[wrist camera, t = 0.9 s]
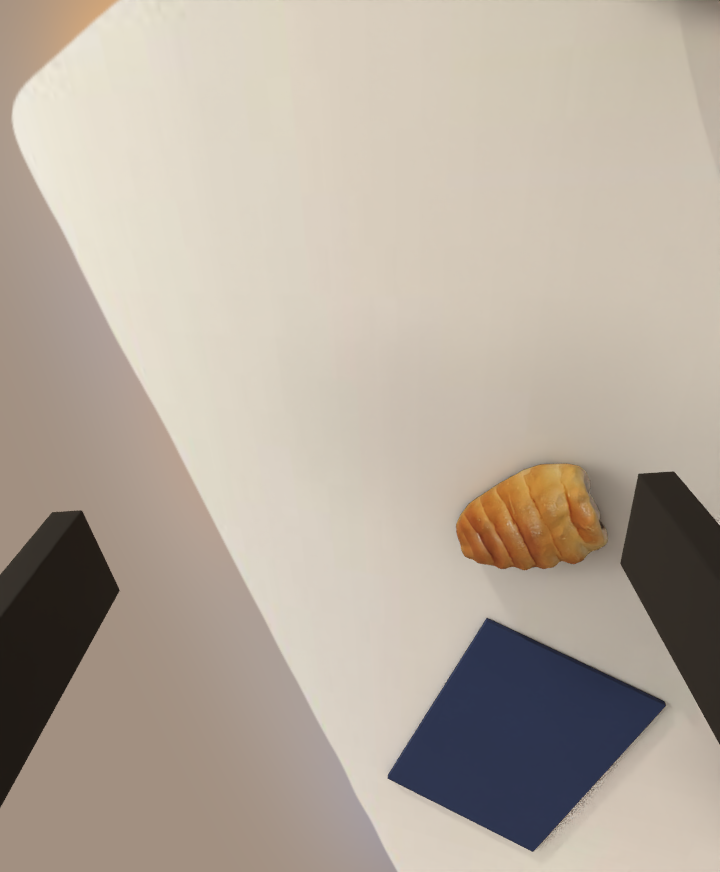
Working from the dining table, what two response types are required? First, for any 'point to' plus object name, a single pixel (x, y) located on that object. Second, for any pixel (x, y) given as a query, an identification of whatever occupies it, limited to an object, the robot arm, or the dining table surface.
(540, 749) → the cloth mat
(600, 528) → the pastry
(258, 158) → the dining table surface
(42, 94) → the dining table surface
